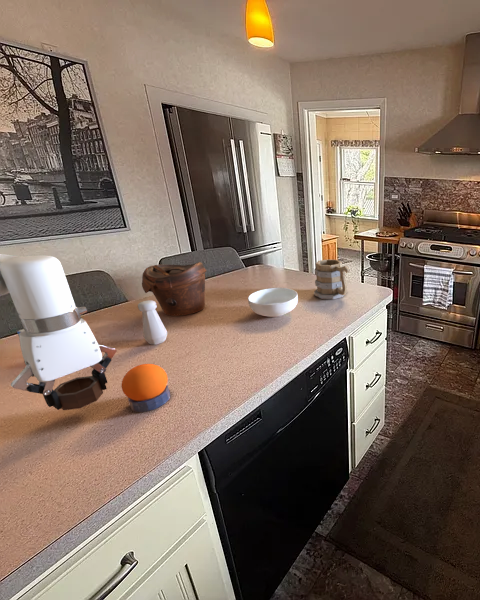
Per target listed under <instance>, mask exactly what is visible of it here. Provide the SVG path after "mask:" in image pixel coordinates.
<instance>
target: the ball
mask: <svg viewBox="0 0 480 600" xmlns="http://www.w3.org/2000/svg"><path fill="white" fill-rule="evenodd" d="M168 378H169V377H168V374H167V372H166V371H165V369H164V368H163V367H161V366H160V365H157V364H153V363H141V364H139V365H136V366H133V367H132V368H130V369H129V370H128V371H127V372H126V373H125V375H124V376H123V378H122V379H121V390H122V393H123V394H124V395H125V396H126V397H127V399H128V398H130V399H132V400H135V401H144V400H148V399H152V398H154V397H156V396H158V395H160V394H161V393H162V392H163V391H164V389H165V388H166V385H168V380H169V379H168Z"/></svg>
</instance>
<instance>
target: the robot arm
mask: <svg viewBox="0 0 480 600" xmlns="http://www.w3.org/2000/svg"><path fill="white" fill-rule="evenodd" d="M8 294H9V295H10V298H11V300H12V303H13V306H14V308H15V311H16V313H17V316H18V318H19V320H20V323H21V325H22V328H23V329H24V330H25V331H22V332H20V333H19V336H18V340H19V346H20V350H21V351H20V352H21V355H22V358H23V361H24V364H25V367H24V368H23V369H22V370H21V371H20V373H19V374H18V375H17V376H16V377H15V378H14V379H13V380H12V381H11V383H10V386H11V387H12V389H16V390H20V391H25V392H29V393H34V394H40V395H42V396H43V399H44V401H45V404H46V405H47V407H49V408H51V407H53V408H54V409H55V410H57V411H60V410H62V409H61V408H62V405H61V402H60V400H59V397H58V395H57V393H56V392H55V391H54V390H55V389H54V385H55V382H56V380H57V379H60V378H63V377H66V376H69V375H71V374H74V373H77V372H80V371H82V370H85V369H87V368H91V369H92V370H91V371H90V372H91V376H94V377H95V378H97V379H99V382H100V385H101V387H102V390H103V391H105V390H107V389H108V388H107V386H106V385H107V384H108V382H109V381H108V379H107V376H106V372H107V368H108V366H109V365H110V364H111V362H112V359H113V358H114V356H115V355H116V353H117V351H118V350H117V348H115V347H112V346H109V345H104V344H100V343H98V341H97V339H96V337H95V335H94V333H93V332H92V329H91V327H90V325H88V323H87V321H86V320H85V319H84V318H82V317H81V316H82V315H83V314H86V313H88V309H87V307H86V306H81V307H80V306H76V303H75V301H74V298H73V294H72V292H71V289H70V285H69V283H68V280H67V277H66V273H65V271H64V268H63V265H62V262H61V261H60V259H58V258H57V257H55V256H52V255H46V254H34V255H33V254H31V255H23V256H21V255H12V254H5V253H0V297H1V296H5V295H8ZM103 353H104V354H103ZM31 377H32V378H34V377H35V378H36V380H37V381H38V383H33V382H28V381H29V379H31Z"/></svg>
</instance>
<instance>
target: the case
mask: <svg viewBox="0 0 480 600" xmlns="http://www.w3.org/2000/svg"><path fill="white" fill-rule="evenodd" d="M206 272H207V269H206V268H205V265H204V264H203V262H202V261H198V262H196V263H191V264H186V265H184V264H154V265H150V266H148V267H146V268H145V269H144V271H143V272H142V279H141V288H142V290H143V292H144V293H145V294H148V293H149V292H151V293H152V294H153V296H154V297H155V299H156V301H157V303H158V304H159V306H160V308H161V309H162V311H163V313H164V314H165V315H167V316H174V317H178V316H187V315H192V314H195V313H198V312H200V311H202V310H203V309H204V308H205V306H206Z"/></svg>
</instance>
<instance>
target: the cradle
mask: <svg viewBox="0 0 480 600" xmlns="http://www.w3.org/2000/svg"><path fill="white" fill-rule="evenodd" d="M170 398H171V392H170V389H169V385H168V384H167V385H166V388H165V389H164V391H163V392H162V393H161V394H160V395H158V396H156V397H154V398H152V399H148V400H144V401H135V400H132V399H130V398H128V397H127V401H128V404H129V407H130V409H131V410H132V411H133V412H137V413H145V412H149V411H154V410H156V409H158V408H161V406H163V405H165V404H167V402H169V400H170Z"/></svg>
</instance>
